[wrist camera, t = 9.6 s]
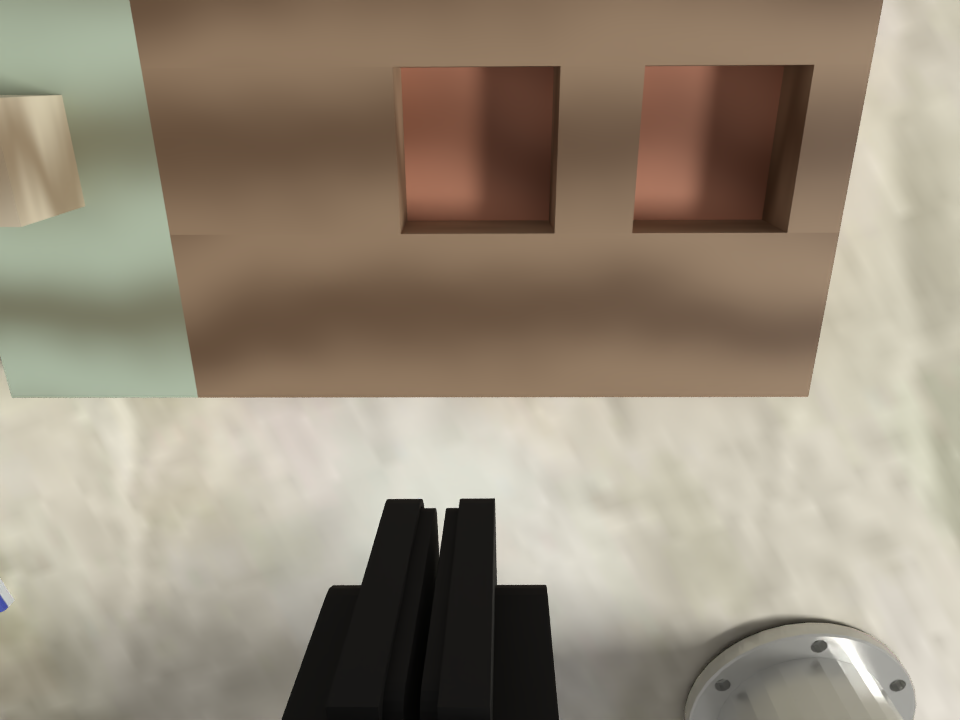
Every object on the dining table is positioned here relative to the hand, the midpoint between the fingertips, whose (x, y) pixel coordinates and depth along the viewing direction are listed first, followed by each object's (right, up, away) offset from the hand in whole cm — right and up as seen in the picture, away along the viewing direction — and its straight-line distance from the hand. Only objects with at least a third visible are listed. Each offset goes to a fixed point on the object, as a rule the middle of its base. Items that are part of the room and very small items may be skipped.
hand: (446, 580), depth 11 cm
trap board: (-3, +12, +18) cm, 22 cm away
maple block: (-17, +11, +15) cm, 25 cm away
